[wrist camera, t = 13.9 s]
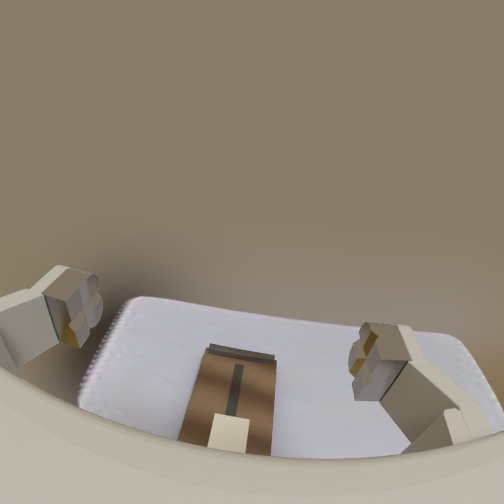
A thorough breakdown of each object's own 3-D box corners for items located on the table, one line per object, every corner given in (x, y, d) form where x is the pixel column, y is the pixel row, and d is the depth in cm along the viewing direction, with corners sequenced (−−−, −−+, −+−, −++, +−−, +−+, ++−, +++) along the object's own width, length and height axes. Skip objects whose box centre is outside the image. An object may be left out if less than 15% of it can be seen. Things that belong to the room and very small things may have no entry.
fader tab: (244, 512, 19) (271, 479, 14) (181, 500, 19) (173, 461, 14) (251, 463, 25) (276, 406, 19) (193, 453, 25) (194, 391, 19)
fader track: (256, 560, 15) (261, 559, 14) (152, 541, 15) (147, 539, 14) (273, 369, 40) (278, 355, 39) (205, 356, 41) (206, 342, 39)
